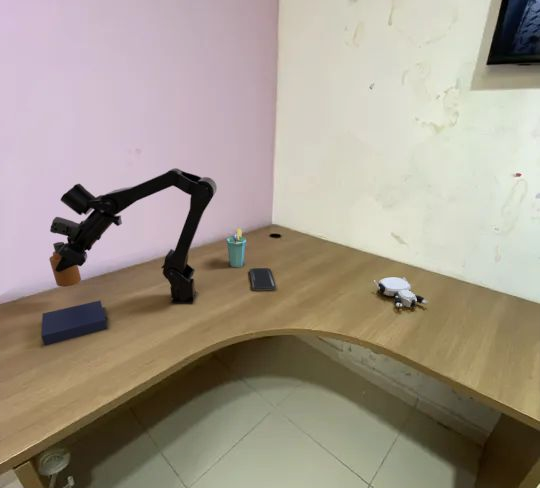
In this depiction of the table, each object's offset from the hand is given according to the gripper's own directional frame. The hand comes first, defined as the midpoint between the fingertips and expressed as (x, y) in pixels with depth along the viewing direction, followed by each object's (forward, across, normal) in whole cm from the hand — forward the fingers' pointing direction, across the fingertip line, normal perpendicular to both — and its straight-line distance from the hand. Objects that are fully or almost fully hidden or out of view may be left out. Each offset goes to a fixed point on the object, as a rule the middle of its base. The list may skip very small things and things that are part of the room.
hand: (59, 266), depth 89 cm
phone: (-34, +3, +52) cm, 62 cm away
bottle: (+3, 0, +5) cm, 5 cm away
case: (+6, +13, +12) cm, 18 cm away
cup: (-30, -12, +48) cm, 58 cm away
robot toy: (-62, +28, +81) cm, 106 cm away
